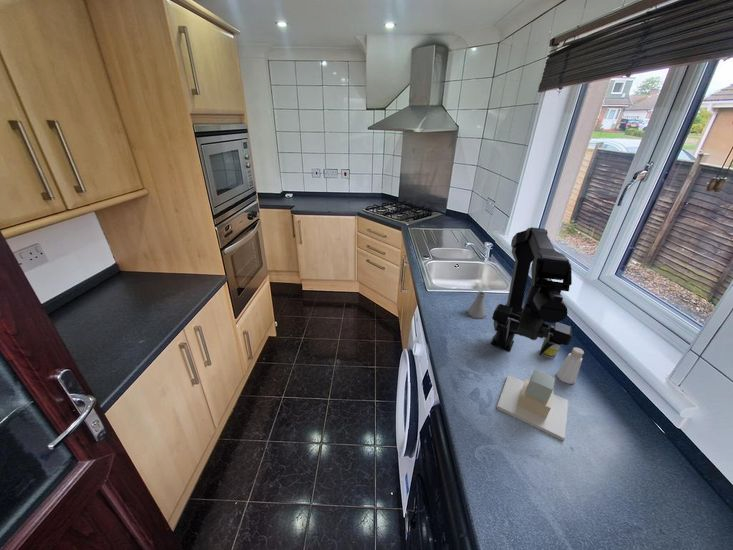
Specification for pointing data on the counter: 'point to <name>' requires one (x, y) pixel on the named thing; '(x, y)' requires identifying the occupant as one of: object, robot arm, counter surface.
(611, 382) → the counter surface
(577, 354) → the pepper shaker
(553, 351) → the supplement bottle
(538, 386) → the sage cube
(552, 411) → the build base
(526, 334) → the robot arm
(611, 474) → the counter surface
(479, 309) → the flask
